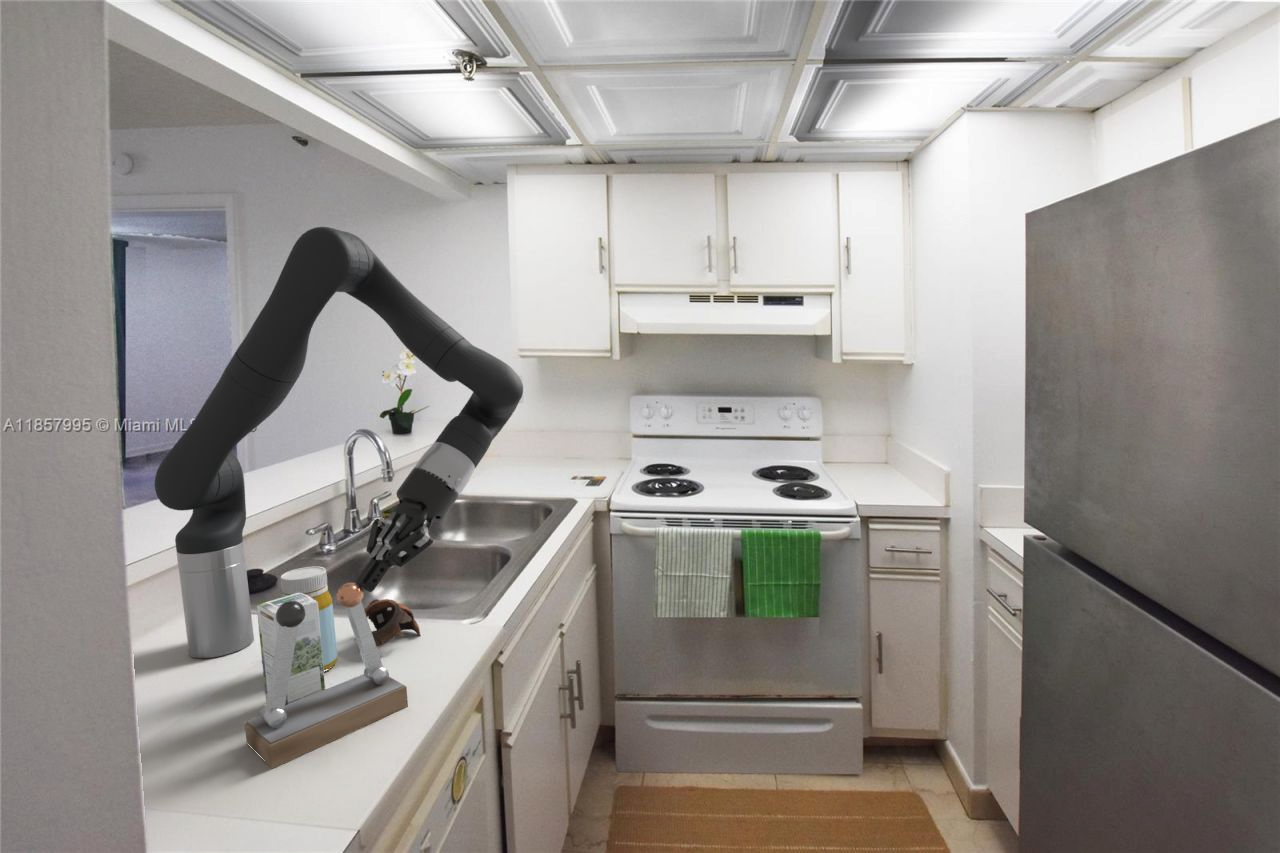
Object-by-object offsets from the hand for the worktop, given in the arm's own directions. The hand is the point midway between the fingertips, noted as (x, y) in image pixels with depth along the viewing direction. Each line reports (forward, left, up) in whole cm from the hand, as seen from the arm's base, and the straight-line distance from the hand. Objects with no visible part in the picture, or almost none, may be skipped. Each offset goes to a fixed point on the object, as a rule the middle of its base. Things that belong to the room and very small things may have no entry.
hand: (362, 588), depth 88 cm
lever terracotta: (0, +1, -12) cm, 12 cm away
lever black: (0, -12, -12) cm, 17 cm away
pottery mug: (-18, +12, -17) cm, 27 cm away
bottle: (-18, 0, -16) cm, 25 cm away
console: (0, -6, -16) cm, 17 cm away
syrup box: (-9, -6, -16) cm, 20 cm away
